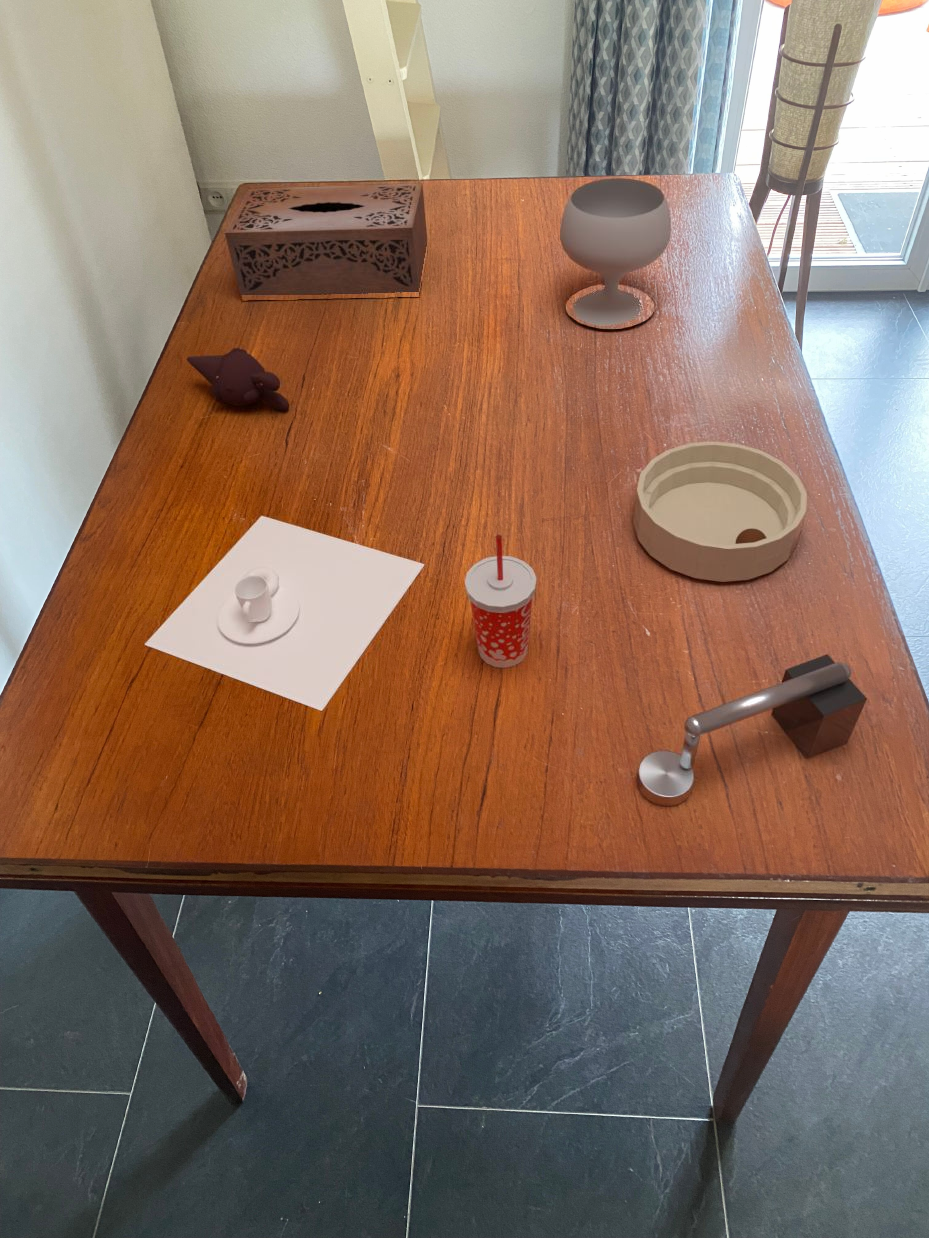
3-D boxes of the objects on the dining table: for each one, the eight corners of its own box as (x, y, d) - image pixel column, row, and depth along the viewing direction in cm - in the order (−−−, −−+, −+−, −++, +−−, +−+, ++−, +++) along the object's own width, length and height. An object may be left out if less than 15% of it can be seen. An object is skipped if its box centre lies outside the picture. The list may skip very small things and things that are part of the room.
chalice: (675, 329, 119) (689, 214, 108) (570, 342, 118) (574, 228, 107) (646, 278, 129) (656, 168, 117) (549, 290, 128) (550, 181, 117)
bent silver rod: (812, 700, 78) (834, 643, 72) (844, 739, 75) (869, 682, 69) (627, 770, 74) (634, 715, 69) (653, 814, 71) (663, 760, 66)
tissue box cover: (242, 301, 131) (224, 233, 123) (263, 254, 140) (248, 188, 133) (419, 297, 129) (412, 228, 121) (428, 250, 138) (422, 182, 131)
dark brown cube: (810, 698, 78) (827, 653, 74) (847, 742, 75) (867, 698, 70) (771, 713, 77) (785, 669, 73) (806, 759, 74) (823, 715, 70)
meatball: (745, 549, 91) (756, 522, 89) (767, 563, 89) (778, 536, 87) (724, 551, 89) (735, 523, 88) (746, 565, 87) (758, 537, 86)
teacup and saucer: (253, 572, 92) (244, 543, 89) (319, 594, 90) (312, 564, 87) (201, 632, 87) (190, 603, 84) (270, 656, 85) (261, 627, 82)
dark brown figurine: (158, 359, 109) (257, 399, 105) (195, 317, 112) (293, 354, 107) (180, 398, 115) (274, 437, 111) (214, 357, 118) (308, 394, 113)
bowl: (738, 463, 100) (745, 426, 96) (829, 556, 89) (842, 518, 86) (606, 504, 96) (609, 467, 93) (685, 605, 86) (691, 568, 82)
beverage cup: (506, 685, 81) (502, 574, 70) (456, 651, 84) (445, 540, 73) (550, 645, 84) (552, 533, 73) (500, 614, 87) (495, 502, 76)
